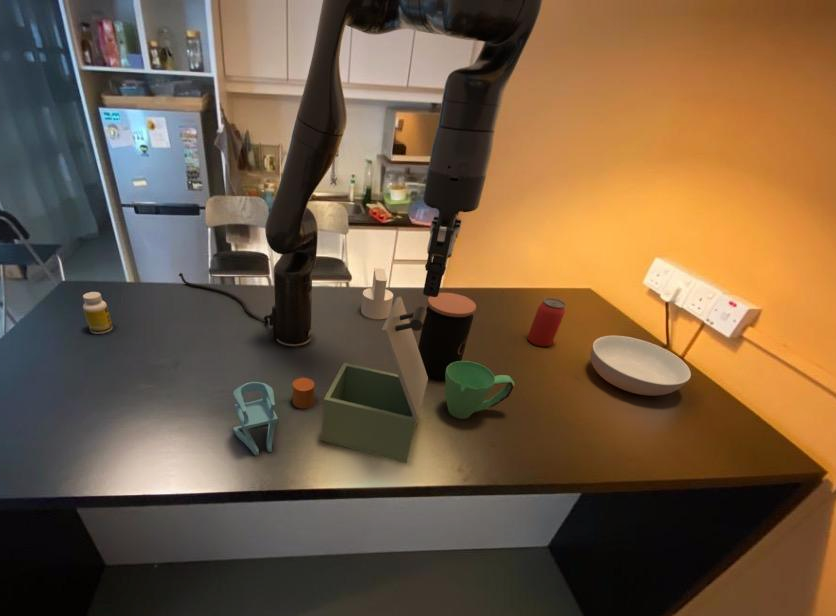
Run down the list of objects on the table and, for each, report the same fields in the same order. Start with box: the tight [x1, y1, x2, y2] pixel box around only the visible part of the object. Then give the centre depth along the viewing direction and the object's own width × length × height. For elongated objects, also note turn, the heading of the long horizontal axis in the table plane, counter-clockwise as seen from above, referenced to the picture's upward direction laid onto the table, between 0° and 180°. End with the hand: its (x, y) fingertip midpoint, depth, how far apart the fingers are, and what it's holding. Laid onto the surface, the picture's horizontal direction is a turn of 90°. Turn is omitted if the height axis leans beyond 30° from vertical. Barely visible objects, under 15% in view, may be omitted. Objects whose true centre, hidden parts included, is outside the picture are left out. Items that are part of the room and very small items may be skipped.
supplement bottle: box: [82, 291, 114, 335], centre depth 109 cm, size 5×5×10 cm
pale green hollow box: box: [321, 362, 418, 463], centre depth 83 cm, size 17×13×10 cm
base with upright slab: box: [360, 267, 394, 320], centre depth 125 cm, size 9×9×12 cm
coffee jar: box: [417, 292, 477, 381], centre depth 100 cm, size 11×11×18 cm
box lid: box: [381, 296, 429, 420], centre depth 73 cm, size 18×13×5 cm
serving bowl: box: [590, 335, 692, 397], centre depth 104 cm, size 21×21×7 cm
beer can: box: [527, 297, 566, 348], centre depth 116 cm, size 7×7×12 cm
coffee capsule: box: [292, 377, 315, 410], centre depth 91 cm, size 5×5×5 cm
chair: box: [233, 381, 279, 457], centre depth 78 cm, size 8×8×12 cm
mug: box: [444, 360, 515, 420], centre depth 90 cm, size 15×10×10 cm
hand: (433, 284), depth 65 cm, fingers open, 8 cm apart
